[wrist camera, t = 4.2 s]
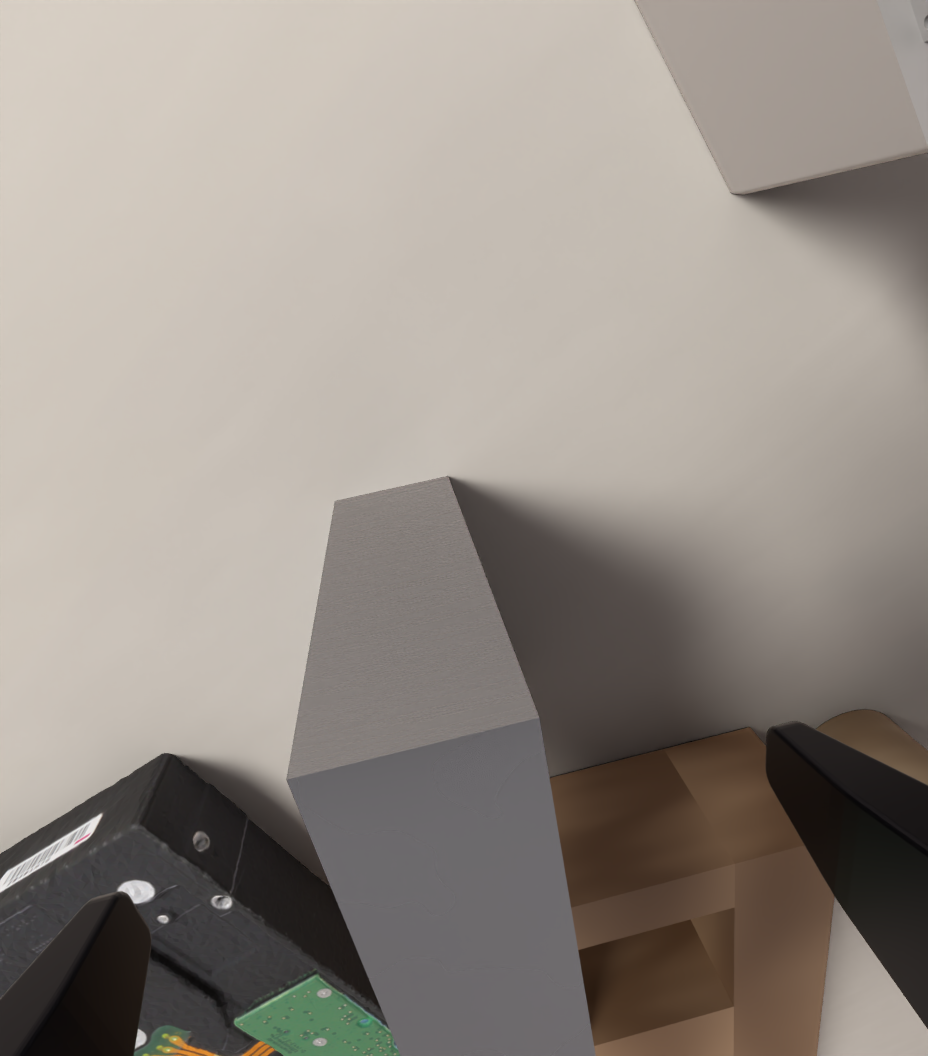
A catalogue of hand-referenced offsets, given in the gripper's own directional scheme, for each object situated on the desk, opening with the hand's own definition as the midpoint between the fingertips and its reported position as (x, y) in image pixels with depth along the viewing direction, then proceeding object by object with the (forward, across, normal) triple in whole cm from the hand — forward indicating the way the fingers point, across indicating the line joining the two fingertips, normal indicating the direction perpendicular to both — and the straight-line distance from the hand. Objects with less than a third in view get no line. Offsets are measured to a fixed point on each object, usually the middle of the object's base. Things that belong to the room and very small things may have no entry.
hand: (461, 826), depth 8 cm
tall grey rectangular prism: (+6, 0, 0) cm, 6 cm away
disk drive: (+7, +9, +11) cm, 15 cm away
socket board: (+6, -3, +16) cm, 17 cm away
